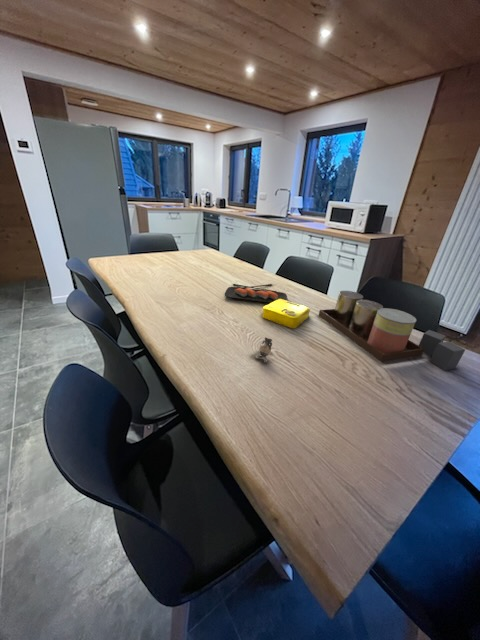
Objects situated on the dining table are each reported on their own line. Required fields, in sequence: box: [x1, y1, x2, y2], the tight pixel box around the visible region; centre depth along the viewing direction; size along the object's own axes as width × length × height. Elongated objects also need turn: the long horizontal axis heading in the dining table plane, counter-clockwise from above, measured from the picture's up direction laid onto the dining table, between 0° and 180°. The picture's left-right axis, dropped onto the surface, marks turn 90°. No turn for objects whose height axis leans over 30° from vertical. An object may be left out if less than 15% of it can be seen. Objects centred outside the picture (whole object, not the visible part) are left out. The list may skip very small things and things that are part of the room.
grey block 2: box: [429, 341, 466, 371], centre depth 82 cm, size 5×5×7 cm
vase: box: [252, 337, 273, 363], centre depth 79 cm, size 5×5×6 cm
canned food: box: [367, 307, 417, 354], centre depth 87 cm, size 11×11×12 cm
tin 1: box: [333, 290, 364, 325], centre depth 106 cm, size 9×9×11 cm
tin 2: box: [349, 299, 384, 337], centre depth 97 cm, size 9×9×11 cm
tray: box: [318, 308, 424, 363], centre depth 98 cm, size 34×17×3 cm, turn 18°
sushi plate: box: [224, 283, 288, 304], centre depth 131 cm, size 29×30×4 cm
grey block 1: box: [418, 329, 447, 356], centre depth 89 cm, size 5×5×7 cm
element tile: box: [261, 299, 311, 329], centre depth 107 cm, size 15×15×5 cm
